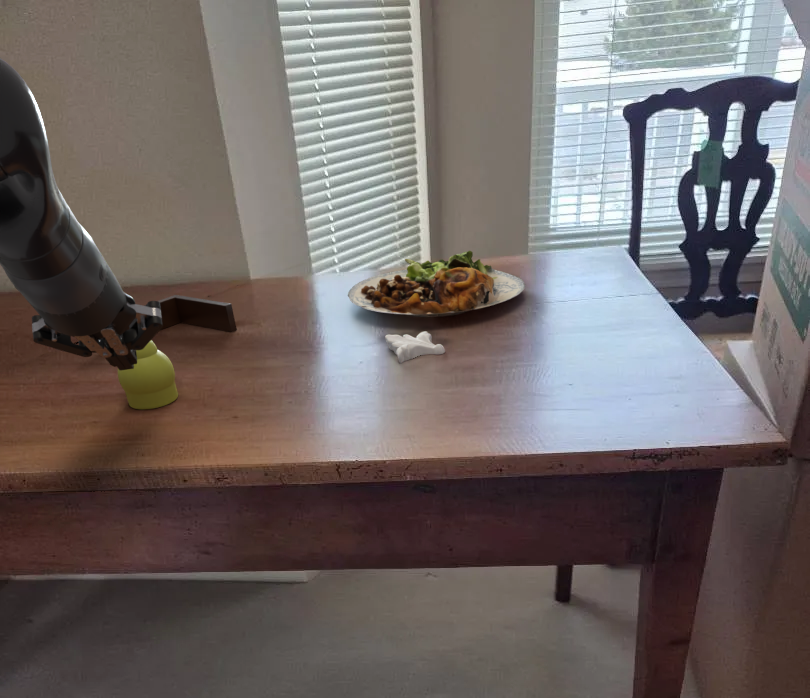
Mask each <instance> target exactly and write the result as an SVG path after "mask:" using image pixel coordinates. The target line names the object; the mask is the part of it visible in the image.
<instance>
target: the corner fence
mask: <svg viewBox="0 0 810 698" xmlns="http://www.w3.org/2000/svg"><path fill="white" fill-rule="evenodd" d="M157 301H158V302H159V303H160V307H161V316H162V325H163V326H162V328H161V329H160V330H159V331H161V330H164V329H168V328H169V327H172V326H175V325H178V324H180V323H181V324H188V325H193V326H198V327H203V328H208V329H214V330H219V331H223V332H228V333H232V332H234V331H237V324H236V319H235V314H234V309H233V305H232V303H229V302H223V301H216V300H210V299H204V298H199V297H198V298H197V297H192V296H186V295H179V294H173V295H170V296H168V297H165V298H162V299H159V300H157ZM145 305H146V304H145ZM145 305H143V306H145ZM134 319H135V318H134ZM132 322H133V321H132ZM129 326H130V325H129ZM129 329H130V328H129V327H128V328H127V330H129Z"/></svg>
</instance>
